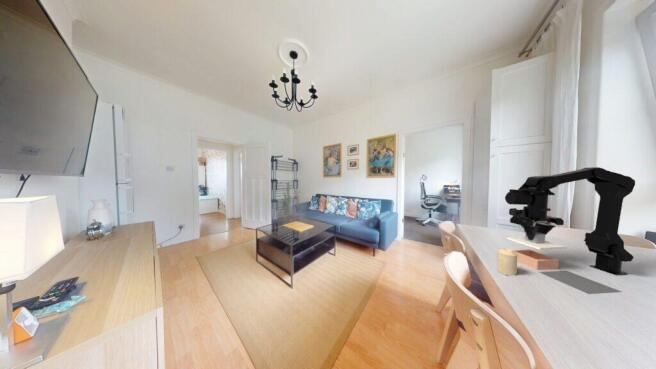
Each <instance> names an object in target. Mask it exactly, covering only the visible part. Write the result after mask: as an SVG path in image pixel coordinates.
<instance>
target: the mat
mask: <svg viewBox="0 0 656 369" xmlns="http://www.w3.org/2000/svg"><path fill="white" fill-rule="evenodd" d="M538 273H540V274H541V275H544V276H545V277H548V278H551V279H553V280H555V281H558V282H560V283H562V284H565V285H566V286H569V287H572V288H574V289H577V290H578V291H581V292H584V293H585V294H588V295H596V294H598V295H599V294H612V293H622V292H623V291H622V290H619V289H616V288H613V287H611V286H608V285H606V284H603V283H601V282H598V281H595V280H594V279H593V280H592V279H590V278H587V277H584V276H583V275H582V276H581V275H579V274H577V273H574V272H571V271H570V270H550V271H538Z"/></svg>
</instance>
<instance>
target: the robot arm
mask: <svg viewBox="0 0 656 369" xmlns="http://www.w3.org/2000/svg"><path fill="white" fill-rule="evenodd" d="M583 180H586V181H587V182H589V183H590V184H593V185H594V191H595V192H596V193H597V194H598V196H599V200H598V201H599V202H598V208H597V214H596V215H597V216H596V222H595V229H593V230H592V231H591V232H585V233H584V240H583V242H584V243H585V244H584V245H585V246H586V247H587V249H588V251H589V252H590V253H593V254H595V263H594V265H593V264H592V265H591V264H590V265H588V266H589V267H591V268H593V269H596V270H598V271H601V272H606V273H608V274H611V275H614V276H619V275H620V276H621V275H623V276H624V275H628V272H626V271H622V267H623V265H622V264H623V263H628V262H632V261H633V259H634V258H635V257H634V255H633V254H631V253H630V252H629V251H628V250H626V249H625V242H624V240H623V239H622V237H621V236H620V235H619V227H620V220H621V214H622V208H623V202H624V199H625V198H626V197H627V196H629V195H630V194H631V193H633V191H634V188H635V186H636V180H635V179H633V178H632V177H631V176H629V175H624V174H622V173H617V172H614V171H611V170H607V169H605V168H603V167H596V166H595V167H594V166H592V167H591V166H590V167H584V168H581V169H575V170H571V171H570V170H569V171H566V172H561V173H558V174H556V173H555V174H551V175H535V176H534V175H533V176H529V177H527V178H526V180H525V182H524V183H523V184H521V186H520V187H519V188H517V189H513V188H512V189H511V188H510V189H509V190H508V192H507V193H506V195H505V196H504V199H505V202H506V203H507V204H508V205H514V206H515V205H519V206H522V205H523V208H522V209H517V208H516V207H514V208H512V207H511V208H509V209H508V210H509V211H508V214H509V215H510V216H511V217H510V218H509V223H510V224H513V225H519V226H521V227H522V228H523V230H524V232H525V235H527V237H528V239H529V240H533V238H534V236H535V234H536V232H539V233H542V234H545V236H547V234H549V232H551V231H552V230H553V229H554V228H556V226H564V224H565V222H564V219H562V217H555V216H552V215H551V216H550V215H548V212H551V210H552V209H551V208H550V207H548V206H549V205H548V204H549V196H555V195H556V193H554V192H553V191H551V190H552V189H554V188H557V187H558V186H559V185H562V184H566V183H567V184H568V183H572V182H577V181H583ZM552 224H555V225H552Z"/></svg>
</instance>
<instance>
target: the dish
mask: <svg viewBox="0 0 656 369" xmlns="http://www.w3.org/2000/svg"><path fill="white" fill-rule="evenodd" d="M511 250H512V251H513V252H515V253H516V254H517V255H518V256H517V263H520V264H522V265H525V266H527V267H528V268H529V267H530V268H531V269H533V270H536V271H543V270H546V271H547V270H559V268H560V267H559V266H560V259H559V258H555V257H552V256H550V255H546V254H543V253H541V252H538V251H535V250H533V249H532V250H531V249H511Z"/></svg>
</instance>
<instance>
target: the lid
mask: <svg viewBox="0 0 656 369" xmlns="http://www.w3.org/2000/svg"><path fill="white" fill-rule="evenodd" d="M507 240H509V241H512V242H515V243H518V244H521V245H523V246H527V247H531V248H533V249H537V250H539V251H541V250H546V251H547V250H565V249H567V246H565V245H561V244H559V243H556V242H555V243H554V242H551V241H547V240H546V235H545V234H542V233H539V232H536V234H535V236H534V238H533V240H529V239H528V237H527V235H526V234H525V236H508V237H507Z"/></svg>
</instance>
